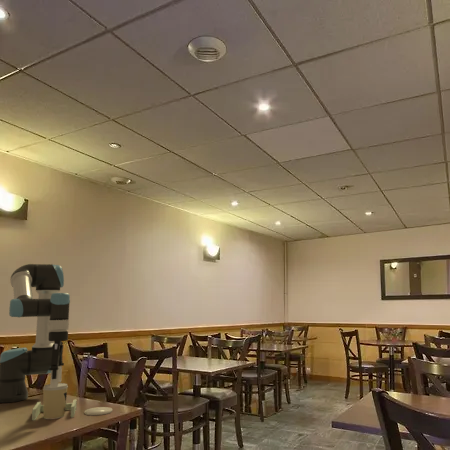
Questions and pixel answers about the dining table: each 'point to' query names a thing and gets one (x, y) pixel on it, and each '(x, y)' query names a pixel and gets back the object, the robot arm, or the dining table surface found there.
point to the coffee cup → (54, 401)
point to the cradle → (39, 408)
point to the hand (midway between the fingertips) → (55, 385)
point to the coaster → (98, 411)
